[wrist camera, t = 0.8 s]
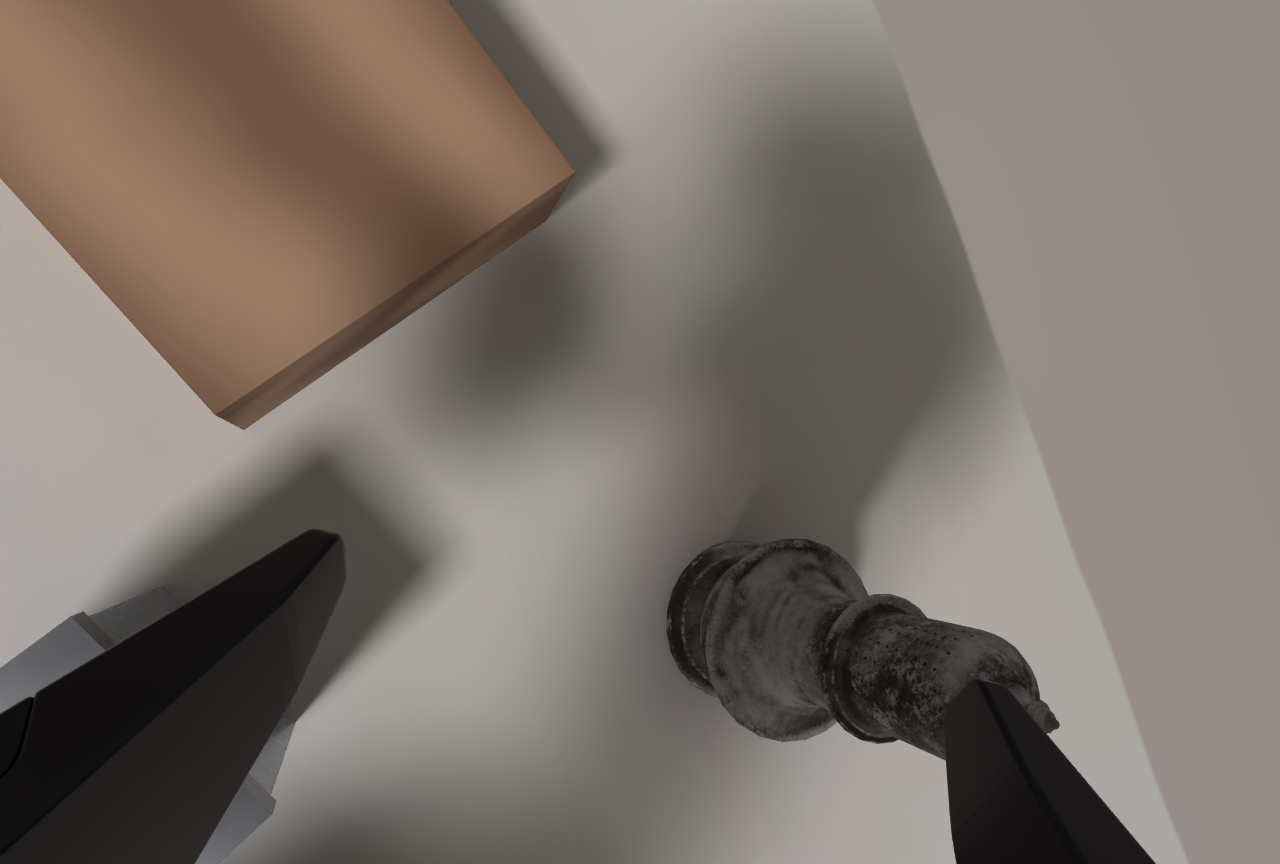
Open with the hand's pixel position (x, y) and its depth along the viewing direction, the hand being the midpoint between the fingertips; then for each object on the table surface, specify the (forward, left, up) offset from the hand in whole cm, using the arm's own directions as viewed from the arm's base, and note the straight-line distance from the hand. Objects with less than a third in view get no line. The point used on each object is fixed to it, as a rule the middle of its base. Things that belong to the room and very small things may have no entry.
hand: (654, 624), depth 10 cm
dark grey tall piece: (+5, -7, -12) cm, 15 cm away
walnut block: (+3, +13, -13) cm, 18 cm away
